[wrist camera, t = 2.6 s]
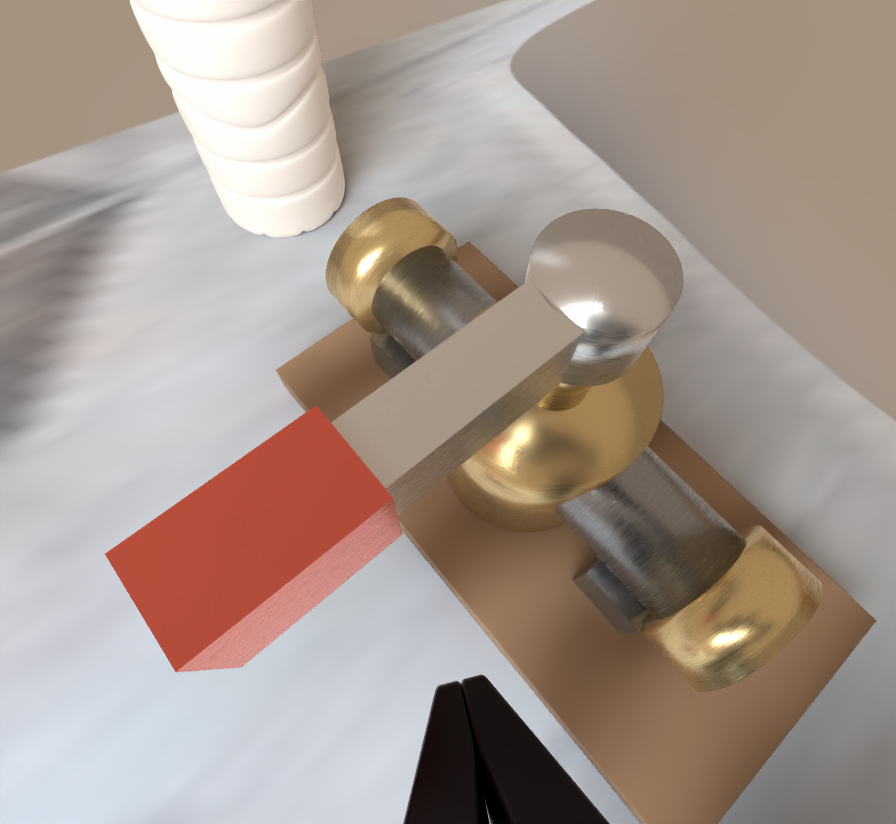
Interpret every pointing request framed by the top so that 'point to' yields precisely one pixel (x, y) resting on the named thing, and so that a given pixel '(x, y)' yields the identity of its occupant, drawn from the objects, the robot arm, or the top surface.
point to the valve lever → (391, 446)
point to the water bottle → (253, 105)
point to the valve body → (584, 470)
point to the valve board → (603, 619)
